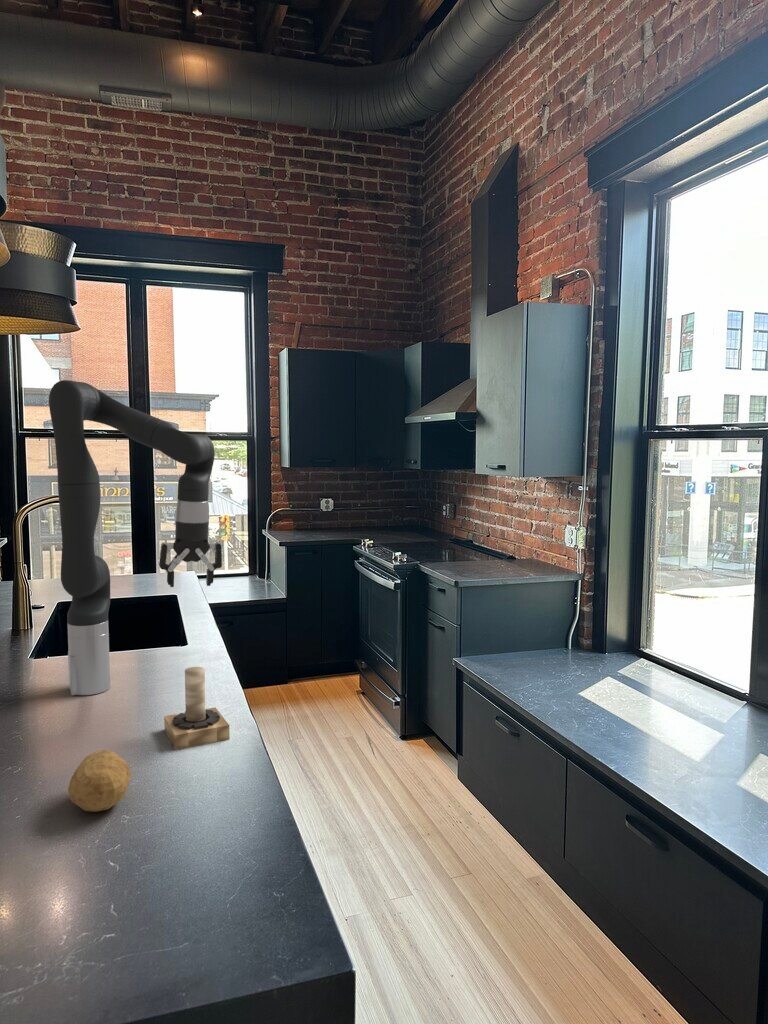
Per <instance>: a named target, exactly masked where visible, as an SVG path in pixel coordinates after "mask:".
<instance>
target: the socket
mask: <svg viewBox="0 0 768 1024" xmlns="http://www.w3.org/2000/svg"><path fill="white" fill-rule="evenodd" d="M205 713H206V720H205V721H203V722H198V723H189V722H186V710H185V711H184V712H180V713H175V714H174V713H173V714H169V715H164V716H163V717H164V718H163V720H164V721H163V723H164V732H165V733H166V735H167V737H168V739H169V741H170V742H171V744H172V747H173V748H174V750H176V749H177V750H181V748H182V749H186V747H187V748H192V747H197V746H201V745H206V744H211V743H216V742H222V741H228V740H230V724H229V723H228V722H227V720H226V719H225V717H224V716H223V715H222V713H221V712H220V711H219V710H218V708H217V707H211V708H209V707H208V708H205Z"/></svg>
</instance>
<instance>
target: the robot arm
mask: <svg viewBox="0 0 768 1024" xmlns="http://www.w3.org/2000/svg"><path fill="white" fill-rule="evenodd" d="M48 407H49V414H50V419H51V420H50V421H51V425H52V430H53V436H54V437H53V438H54V443H55V444H54V445H55V446H54V447H55V458H56V459H55V460H56V469H57V492H58V504H59V506H58V507H59V519H60V520H59V521H60V528H61V529H60V530H61V543H62V544H61V558H60V559H61V561H60V581H61V582H60V583H61V585H62V588H63V589H64V591H65V592H66V593H67V594H68V595H70V596H71V604H70V606H69V608H68V611H67V615H66V618H67V619H66V620H67V621H66V622H67V623H66V624H67V645H68V651H67V661H68V665H67V666H68V668H67V669H68V687H69V688H68V689H69V693H70V696H90V695H96V694H101V693H104V692H106V691H108V690H109V689H110V688H111V664H110V637H109V636H110V633H109V610H110V605H111V574H110V573H111V571H110V568H109V565H108V564H107V562H106V561H105V559H103V558H102V557H100V556H98V555H96V552H95V532H96V528H97V524H98V519H99V514H100V508H101V483H100V474H99V471H98V468H97V466H96V464H95V462H94V459H93V458H92V456H91V453H90V451H89V449H88V446H87V443H86V438H85V428H84V425H85V423H84V421H89V422H94V423H98V424H99V423H100V424H102V425H106V426H108V427H112V428H113V429H115V430H118V431H119V432H121V433H122V434H123V435H125V436H126V437H128V438H130V440H133V441H134V442H136V443H139V444H141V445H144V446H146V447H148V448H150V449H153V450H155V451H156V450H157V451H159V452H160V453H162V454H164V455H166V456H168V458H170V459H172V460H174V461H176V462H178V463H180V464H182V465H185V469H184V472H183V474H182V475H181V476H180V477H179V479H178V481H177V482H178V483H177V502H176V506H175V507H176V508H175V533H174V534H175V535H174V543H166V542H162V543H161V544H160V548H159V549H160V550H159V552H160V553H159V563H158V566H159V568H160V569H161V570H162V571H163V570H164V571H166V572H167V573H166V583H167V585H169V587H170V588H175V587H174V586H175V571H174V570H175V569H176V567H177V566H178V565H180V564H181V562H182V561H183V562H184V563H189V562H193V563H194V562H196V563H198V562H200V561H202V562H203V564H204V565H205V566H206V568H207V569H206V578H205V579H206V581H205V583H206V586H207V587H210V586H211V585H212V584H213V583H214V577H215V576H214V573H215V571H216V570H217V569H221V568H222V566H223V564H222V563H223V562H222V561H223V558H222V557H223V555H222V551H223V550H222V544H221V543H220V542H219V541H216V542H215V543H209V525H210V523H209V522H210V521H209V519H210V508H209V507H210V506H209V490H210V488H209V487H210V485H209V484H210V483H209V482H210V477H212V476H211V475H212V470H213V467H214V462H215V454H216V453H215V452H216V451H215V446H214V443H213V441H212V439H211V438H210V437H209V436H208V435H205V434H202V433H198V434H196V433H195V434H190V433H187V432H185V431H182V430H179V429H177V428H176V427H175V425H173V424H172V423H170V422H168V421H165V420H163V419H160V418H159V417H156V416H154V415H151V414H148V413H146V412H143V411H140V410H139V409H135V408H132V407H130V406H128V405H126V404H124V403H122V402H120V401H118V400H116V399H115V398H112V397H111V396H110V395H107V394H106V393H105V392H103V391H101V390H99V389H98V388H96V387H94V385H91V384H90V383H87V382H84V381H76V380H70V379H69V380H68V379H64V380H59V381H57V382H56V383H55V384H53V386H52V387H51V389H50V391H49V397H48ZM172 549H173V551H174V553H176V554H175V555H174V556H173V558H172V560H171V561H170V562H168V564H167V563H166V562H167V555H168V554H169V553H170V552H171V550H172ZM210 549H211V551H212V553H214V562H213V563H212V562H211V561H210V560H209V559H208V557H207V556H206V554H207V553H208V551H210Z"/></svg>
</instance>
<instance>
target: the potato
mask: <svg viewBox="0 0 768 1024" xmlns="http://www.w3.org/2000/svg"><path fill="white" fill-rule="evenodd" d="M131 774H132V773H131V769H130V765H128V763H127V761H125V760H124V759H123V758H122V757H121V756H120V755H119V754H117V753H116V752H114V751H112V750H106V749H104V750H98V751H94V752H92V753H90V754H88V755H87V756H85V757H84V758H83V760H82V761H81V762H80V763H79V765H78V766H77V768H76V769H75V771H74V772H73V775H72V777H71V778H70V782H69V784H68V790H67V791H68V794H69V799H70V800H71V802H72V803H73V804H75V805H76V806H78V808H80V809H81V810H82V811H85V812H94V813H96V812H102V811H106V810H109V809H111V808H112V807H114V806H115V805H116V804H117V803H119V802H120V801H121V800H123V799H124V798H125V796H126V794H127V791H128V787H129V784H130V781H131V780H132V777H131Z"/></svg>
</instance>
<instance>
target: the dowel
mask: <svg viewBox="0 0 768 1024" xmlns="http://www.w3.org/2000/svg"><path fill="white" fill-rule="evenodd" d="M184 669H185V670H184V692H185V693H184V695H185V697H184V698H185V701H184V702H185V711H186V722H189V723H198V722H203V721H205V720H206V713H205V709H206V674H205V673H206V672H205V669H206V668H204V667H202V666H191V667H188V668H184Z"/></svg>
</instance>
